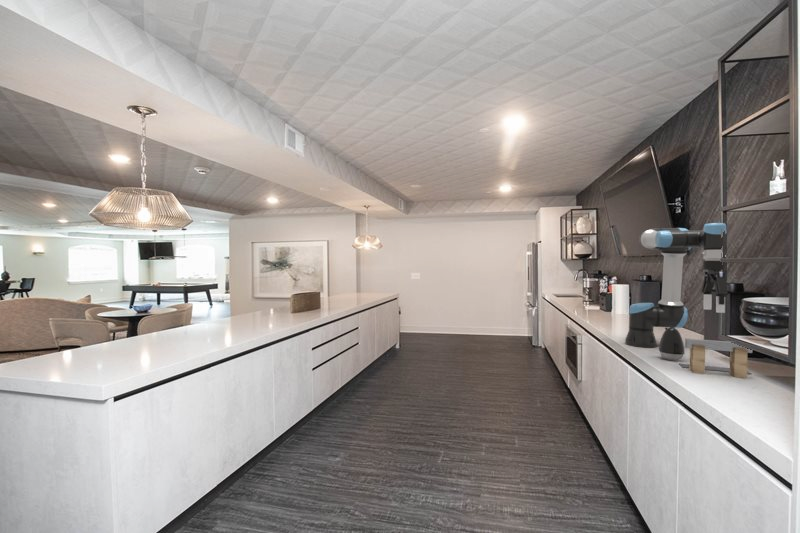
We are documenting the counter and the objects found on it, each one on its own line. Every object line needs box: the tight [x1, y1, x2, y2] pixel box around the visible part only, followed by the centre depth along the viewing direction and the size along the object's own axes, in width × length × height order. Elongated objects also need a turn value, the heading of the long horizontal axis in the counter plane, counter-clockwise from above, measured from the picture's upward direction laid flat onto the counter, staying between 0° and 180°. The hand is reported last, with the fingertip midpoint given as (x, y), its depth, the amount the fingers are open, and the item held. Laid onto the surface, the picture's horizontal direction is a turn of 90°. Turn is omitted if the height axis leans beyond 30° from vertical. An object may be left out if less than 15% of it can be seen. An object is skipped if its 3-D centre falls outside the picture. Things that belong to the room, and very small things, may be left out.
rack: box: [689, 345, 749, 379], centre depth 168 cm, size 6×18×12 cm, turn 67°
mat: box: [678, 362, 753, 375], centre depth 175 cm, size 7×24×1 cm, turn 67°
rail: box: [684, 337, 753, 354], centre depth 168 cm, size 3×22×4 cm, turn 67°
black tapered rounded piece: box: [658, 327, 686, 362], centre depth 192 cm, size 10×10×15 cm
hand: (713, 311), depth 169 cm, fingers open, 13 cm apart
